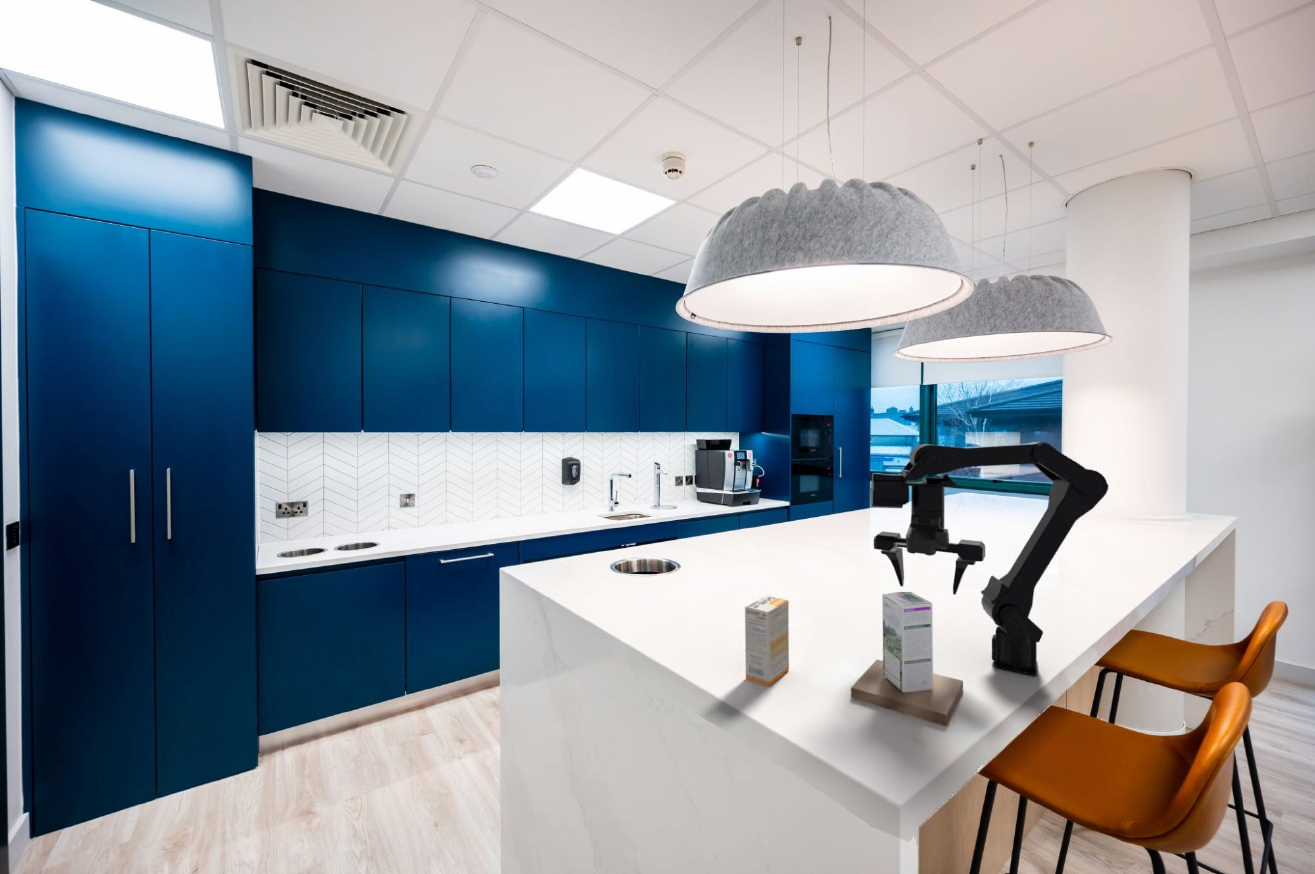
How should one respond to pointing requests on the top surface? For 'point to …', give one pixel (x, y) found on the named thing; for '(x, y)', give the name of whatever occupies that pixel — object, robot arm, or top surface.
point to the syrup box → (907, 641)
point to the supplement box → (767, 639)
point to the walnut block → (909, 695)
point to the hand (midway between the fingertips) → (927, 589)
